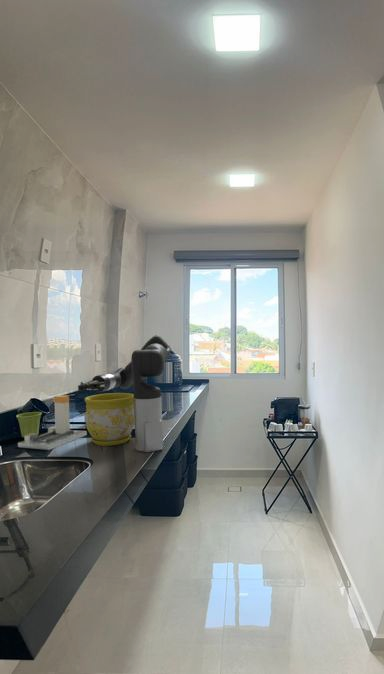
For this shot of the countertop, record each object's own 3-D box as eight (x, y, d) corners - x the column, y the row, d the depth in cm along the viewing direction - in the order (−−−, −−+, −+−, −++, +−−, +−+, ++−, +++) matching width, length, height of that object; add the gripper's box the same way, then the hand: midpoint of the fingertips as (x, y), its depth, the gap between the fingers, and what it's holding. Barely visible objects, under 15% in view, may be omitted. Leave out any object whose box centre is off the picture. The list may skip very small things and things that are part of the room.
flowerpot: (125, 448, 133) (124, 400, 133) (77, 447, 137) (75, 400, 137) (143, 435, 151) (141, 392, 151) (99, 434, 154) (97, 393, 154)
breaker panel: (86, 434, 155) (86, 425, 155) (48, 449, 135) (48, 439, 135) (58, 432, 160) (57, 424, 160) (17, 447, 140) (17, 437, 140)
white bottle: (70, 432, 153) (69, 395, 153) (64, 434, 150) (63, 396, 150) (60, 431, 155) (59, 395, 155) (55, 433, 152) (53, 396, 152)
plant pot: (25, 440, 150) (24, 417, 150) (12, 437, 156) (11, 415, 156) (47, 434, 158) (46, 413, 158) (34, 432, 163) (33, 411, 163)
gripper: (116, 391, 177) (92, 397, 161) (92, 390, 182) (67, 396, 166) (115, 374, 177) (92, 379, 161) (91, 374, 182) (66, 378, 166)
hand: (79, 388), depth 163 cm, fingers closed
